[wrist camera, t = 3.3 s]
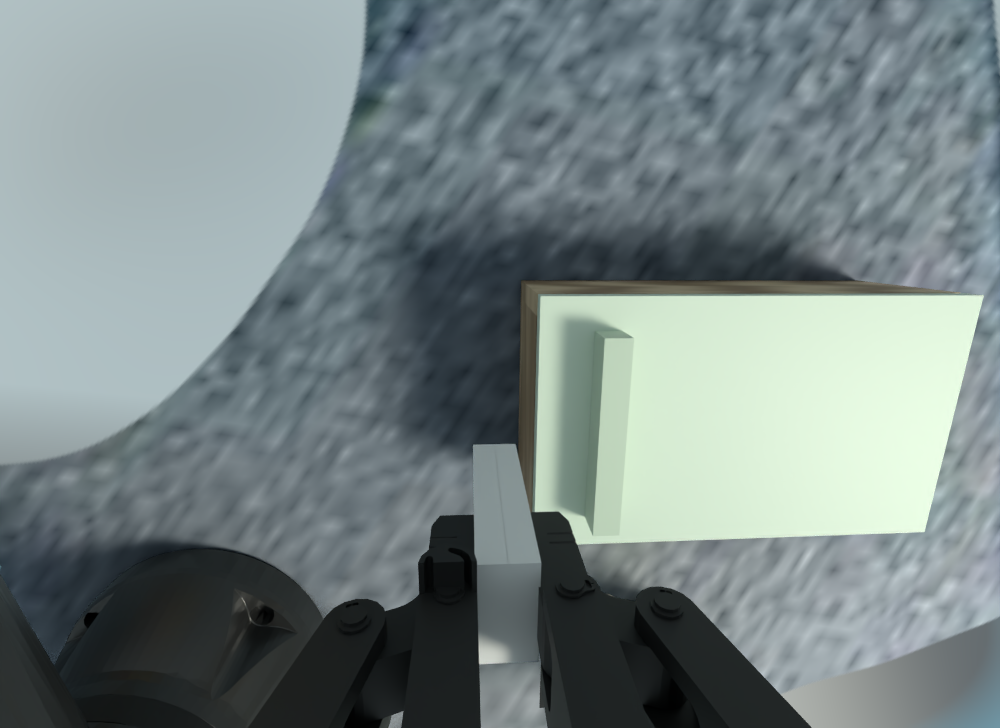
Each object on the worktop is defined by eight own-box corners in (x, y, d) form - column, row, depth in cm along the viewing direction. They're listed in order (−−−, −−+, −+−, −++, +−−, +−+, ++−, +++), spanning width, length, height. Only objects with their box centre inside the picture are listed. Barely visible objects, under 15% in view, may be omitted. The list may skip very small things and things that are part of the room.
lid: (531, 536, 25) (538, 567, 22) (538, 294, 22) (546, 300, 19) (910, 523, 26) (954, 551, 24) (966, 293, 23) (1022, 299, 21)
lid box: (517, 473, 31) (531, 532, 25) (521, 280, 28) (536, 293, 22) (821, 465, 33) (906, 520, 26) (856, 280, 30) (960, 292, 23)
